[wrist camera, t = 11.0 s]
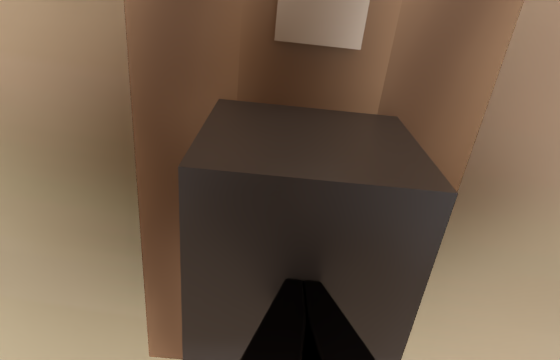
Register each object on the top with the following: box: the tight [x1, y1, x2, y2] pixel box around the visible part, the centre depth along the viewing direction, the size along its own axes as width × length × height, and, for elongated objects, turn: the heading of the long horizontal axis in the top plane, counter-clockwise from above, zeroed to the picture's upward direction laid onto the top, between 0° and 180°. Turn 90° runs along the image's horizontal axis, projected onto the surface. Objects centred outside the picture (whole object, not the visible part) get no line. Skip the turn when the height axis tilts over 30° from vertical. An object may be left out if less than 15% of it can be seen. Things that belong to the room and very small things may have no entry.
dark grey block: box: [178, 99, 458, 360], centre depth 12 cm, size 6×6×7 cm
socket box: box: [124, 0, 524, 359], centre depth 15 cm, size 11×18×4 cm, turn 174°
